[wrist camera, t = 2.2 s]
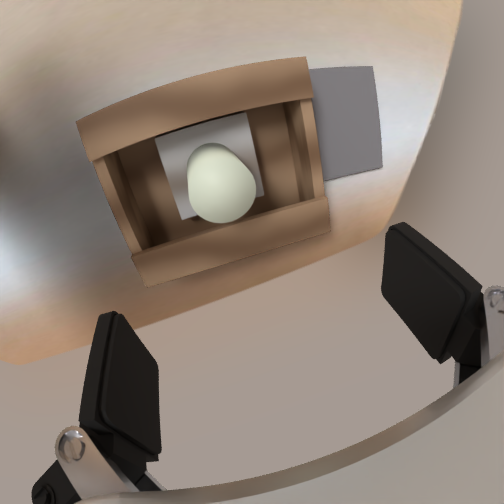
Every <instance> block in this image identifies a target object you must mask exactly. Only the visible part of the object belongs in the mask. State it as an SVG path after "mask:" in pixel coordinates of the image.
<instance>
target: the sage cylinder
mask: <svg viewBox="0 0 504 504" xmlns="http://www.w3.org/2000/svg"><path fill="white" fill-rule="evenodd" d="M187 180H188V193H189V200H190V203H191V206H192V208H193V209H194V211H195V212H196V213H197V214H198V215H199V216H200V217H202V218H203V219H205V220H207V221H210V222H213V223H227V222H231V221H234V220H236V219H238V218H240V217H241V216H243V215H244V214H245V213H246V212H247V211H248V210H249V209H250V207H251V206H252V204H253V202H254V199H255V195H256V184H255V180H254V177H253V175H252V174H251V172H250V171H249V170H248V168H247V167H246V166H245V165H244V164H243V163H242V162H241V161H240V160H239V159H238V158H237V156H236V155H235V154H234V153H233V152H232V151H231V150H230V149H229V148H228V147H226V146H225V145H222V144H219V143H206V144H203V145H201V146H199V147H198V148H196V149H195V150H194V151H193V152H192V153H191V155H190V157H189V159H188V162H187Z"/></svg>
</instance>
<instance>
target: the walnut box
mask: <svg viewBox="0 0 504 504" xmlns="http://www.w3.org/2000/svg"><path fill="white" fill-rule="evenodd" d="M313 97H314V95H313V89H312V84H311V79H310V74H309V69H308V64H307V59H306V57H296V58H286V59H278V60H271V61H264V62H258V63H252V64H246V65H241V66H236V67H231V68H226V69H222V70H217V71H213V72H209V73H205V74H201V75H197V76H193V77H190V78H186V79H183V80H179V81H176V82H173V83H169V84H166V85H163V86H160V87H157V88H154V89H151V90H148V91H146V92H143V93H140V94H137V95H135V96H132V97H130V98H127V99H125V100H122V101H120V102H117V103H115V104H112V105H110V106H108V107H106V108H103V109H101V110H99V111H97V112H95V113H92V114H90V115H88V116H86V117H84V118H82V119H80V120H78V121H76V124H77V127H78V130H79V133H80V136H81V139H82V142H83V145H84V148H85V151H86V154H87V157H88V159H89V162H91V161H92V162H93V165H94V168H95V170H96V173H97V175H98V178H99V181H100V183H101V186H102V188H103V191H104V193H105V195H106V198H107V200H108V203H109V205H110V207H111V210H112V212H113V214H114V217H115V219H116V221H117V223H118V225H119V228H120V230H121V232H122V234H123V236H124V238H125V241H126V243H127V245H128V247H129V249H130V251H131V253H132V256H131V258H132V260H133V262H134V264H135V266H136V268H137V270H138V272H139V274H140V276H141V278H142V280H143V282H144V283H145V285H146V287H147V288H148V287H151V286H155V285H158V284H161V283H165V282H168V281H171V280H174V279H178V278H181V277H184V276H188V275H191V274H194V273H197V272H201V271H204V270H207V269H210V268H214V267H217V266H220V265H223V264H227V263H230V262H233V261H237V260H240V259H243V258H246V257H250V256H253V255H256V254H259V253H262V252H266V251H269V250H272V249H275V248H279V247H282V246H285V245H288V244H292V243H295V242H298V241H301V240H305V239H308V238H311V237H314V236H317V235H321V234H324V233H327V232H330V231H331V230H330V217H329V206H328V198H327V197H326V196H325V193H324V183H323V175H322V167H321V159H320V151H319V144H318V137H317V131H316V124H315V118H314V112H313V106H312V101H311V98H313ZM206 143H219V144H222V145H225V146H226V147H228V148H229V149H230V150H231V151H232V152H233V153H234V154H235V155H236V156H237V158H238V159H239V160H240V161H241V162H242V163H243V164H244V165H245V166H246V167H247V168H248V170H249V171H250V172H251V174H252V175H253V177H254V180H255V184H256V195H255V199H254V202H253V204H252V206H251V207H250V209H249V210H248V211H247V212H246V213H245V214H244V215H243V216H241V217H240V218H238V219H236V220H234V221H231V222H227V223H213V222H210V221H207V220H205V219H203V218H202V217H200V216H199V215H198V214H197V213H196V212H195V211H194V209H193V208H192V206H191V203H190V200H189V193H188V180H187V162H188V159H189V157H190V155H191V153H192V152H193V151H194V150H195V149H196V148H198V147H199V146H201V145H203V144H206Z"/></svg>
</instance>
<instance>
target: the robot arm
mask: <svg viewBox="0 0 504 504" xmlns="http://www.w3.org/2000/svg"><path fill="white" fill-rule="evenodd" d="M385 237H386V238H385V253H384V265H383V276H382V285H381V291H382V295H383V297H384V298H385V299H386V300H387V301H388V303H389V304H390V305H391V307H392V308H393V309H394V310H395V311H396V313H397V314H398V315H399V316H400V318H401V319H402V320H403V321H404V323H405V324H406V325H407V326H408V328H409V329H410V330H411V331H412V333H413V334H414V335H415V336H416V338H417V339H418V341H419V342H420V343H421V344H422V346H423V347H424V348H425V350H426V351H427V352H428V354H429V355H430V356H431V357H432V358H433V359H437V361H438V362H439V363H440V364H442V363H443V362H445V361H446V360H448V359H449V358H450V357H451V356H452V357H453V358H454V360H455V372H454V385H453V389H452V390H451V391H450V392H448V393H447V394H445V395H444V396H442V397H441V398H439V399H438V400H436V401H435V402H433V403H431V404H430V405H428V406H427V407H425V408H423V409H422V410H420V411H418V412H417V413H415V414H413V415H412V416H410V417H408V418H406V419H405V420H403V421H401V422H399V423H397V424H396V425H394V426H392V427H390V428H388V429H386V430H384V431H382V432H380V433H378V434H376V435H374V436H372V437H370V438H368V439H366V440H363V441H361V442H359V443H357V444H355V445H352V446H350V447H347V448H345V449H343V450H340V451H338V452H335V453H333V454H330V455H327V456H325V457H322V458H319V459H317V460H314V461H311V462H308V463H305V464H302V465H298V466H295V467H292V468H289V469H286V470H282V471H278V472H274V473H271V474H267V475H263V476H259V477H254V478H250V479H245V480H241V481H235V482H230V483H224V484H219V485H211V486H204V487H197V488H187V489H178V490H167V489H165V488H164V487H163V486H162V485H161V484H160V483H159V482H158V481H157V480H156V479H155V478H154V477H153V476H152V475H151V474H150V473H149V472H148V471H147V469H146V462H154V461H159V459H158V454H160V453H161V450H162V449H161V448H162V447H161V434H160V416H159V415H160V414H159V382H158V381H159V376H158V375H159V373H158V372H159V370H158V365H157V362H156V361H155V359H154V358H153V357H152V355H151V354H150V353H149V351H148V350H147V349H146V347H145V346H144V344H143V343H142V342H141V340H140V339H139V337H138V336H137V335H136V334H135V332H134V330H133V329H132V327H131V326H130V325H129V323H128V322H127V320H126V319H125V317H124V316H123V315H122V314H118V313H117V312H116V311H112V312H108V313H105V314H101V315H100V316H99V318H98V321H97V325H96V329H95V333H94V337H93V342H92V346H91V351H90V355H89V360H88V365H87V370H86V376H85V381H84V387H83V393H82V399H81V406H80V414H79V422H80V425H79V427H77V426H70V427H67V428H65V429H64V430H63V431H62V432H61V433H60V434H59V436H58V438H57V440H56V444H55V454H56V457H57V460H56V461H55V462H54V463H53V465H52V466H51V467H50V468H49V469H48V470H47V471H46V472H45V473H44V474H43V475H42V476H41V477H40V479H39V480H38V481H37V482H36V483H35V484H34V486H33V489H32V502H33V504H504V287H501V286H491V287H488V288H487V289H486V290H485V292H484V294H483V293H481V289H482V285H481V284H480V283H478V282H477V281H476V280H475V279H474V278H473V277H472V276H471V275H470V274H469V273H467V272H466V271H465V270H464V269H463V268H462V267H461V266H459V265H458V264H457V263H456V262H455V261H454V260H452V259H451V258H450V257H449V256H448V255H446V254H445V253H444V252H443V251H442V250H440V249H439V248H438V247H437V246H435V245H434V244H433V243H432V242H430V241H429V240H428V239H427V238H425V237H424V236H423V235H421V234H420V233H419V232H418V231H416V230H415V229H414V228H412V227H411V226H410V225H408V224H407V223H405V222H401V223H398V224H395V225H392V226H390V227H389V229H388V232H387V233H386V236H385Z"/></svg>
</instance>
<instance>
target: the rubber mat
mask: <svg viewBox="0 0 504 504" xmlns="http://www.w3.org/2000/svg"><path fill="white" fill-rule="evenodd" d="M309 74H310V79H311V84H312V89H313V95H314V97H313V98H311V101H312V106H313V112H314V118H315V124H316V131H317V137H318V144H319V151H320V159H321V167H322V175H323V181H326V180H330V179H334V178H338V177H342V176H346V175H350V174H355V173H359V172H363V171H368V170H372V169H377V168H381V167H383V165H382V145H381V131H380V119H379V110H378V101H377V93H376V85H375V79H374V72H373V66H359V67H334V68H320V69H309Z"/></svg>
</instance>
